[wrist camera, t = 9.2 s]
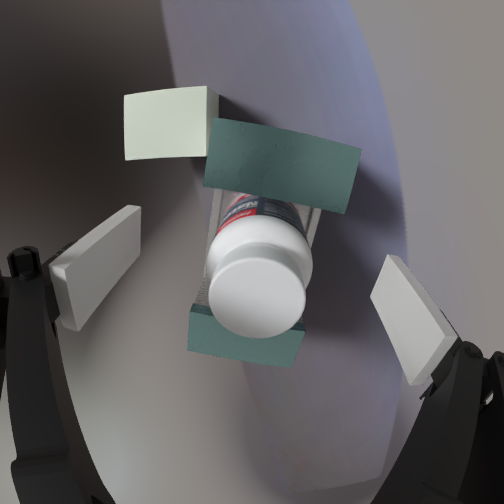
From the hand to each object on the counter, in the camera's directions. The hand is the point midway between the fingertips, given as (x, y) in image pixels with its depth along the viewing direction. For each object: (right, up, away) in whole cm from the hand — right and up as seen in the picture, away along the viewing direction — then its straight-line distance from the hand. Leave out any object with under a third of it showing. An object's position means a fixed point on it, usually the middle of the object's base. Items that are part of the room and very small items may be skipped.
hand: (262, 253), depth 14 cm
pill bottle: (0, +2, +5) cm, 6 cm away
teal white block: (0, +2, +6) cm, 7 cm away
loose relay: (-5, +9, +4) cm, 11 cm away
